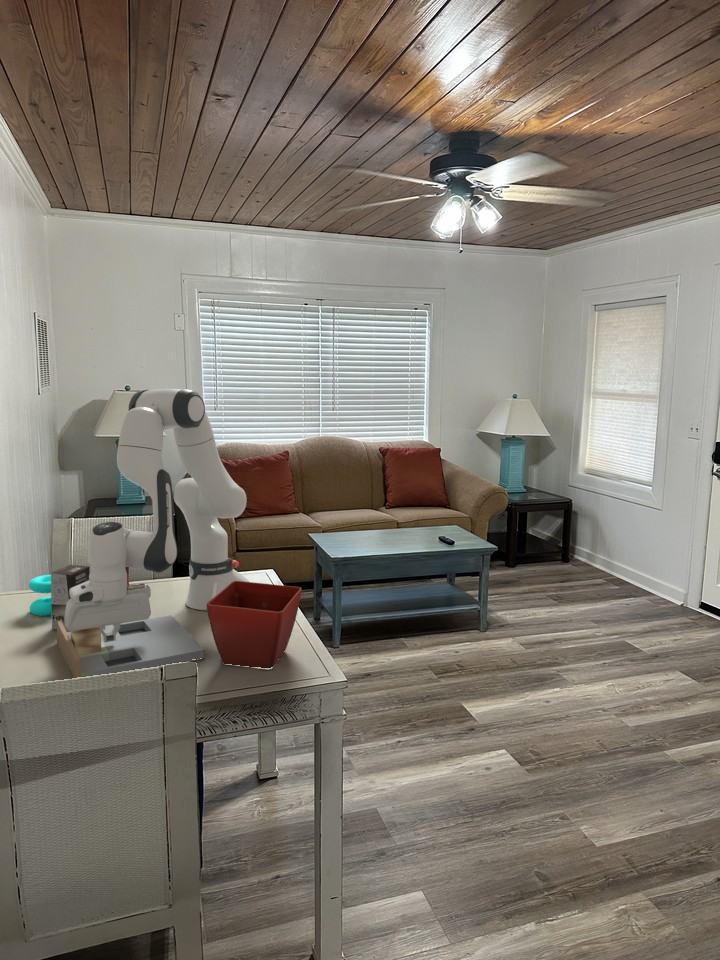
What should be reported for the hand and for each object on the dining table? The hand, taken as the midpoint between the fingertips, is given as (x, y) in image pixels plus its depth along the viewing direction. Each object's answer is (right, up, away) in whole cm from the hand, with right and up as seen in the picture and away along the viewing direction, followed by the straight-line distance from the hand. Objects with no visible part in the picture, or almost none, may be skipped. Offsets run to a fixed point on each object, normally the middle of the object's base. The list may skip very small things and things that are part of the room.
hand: (109, 640), depth 167 cm
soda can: (-15, +4, +48) cm, 50 cm away
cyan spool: (-29, +2, +28) cm, 40 cm away
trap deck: (+4, -3, +3) cm, 6 cm away
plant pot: (+36, -5, +2) cm, 37 cm away
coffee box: (-18, 0, +19) cm, 26 cm away
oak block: (-5, -1, -3) cm, 6 cm away
